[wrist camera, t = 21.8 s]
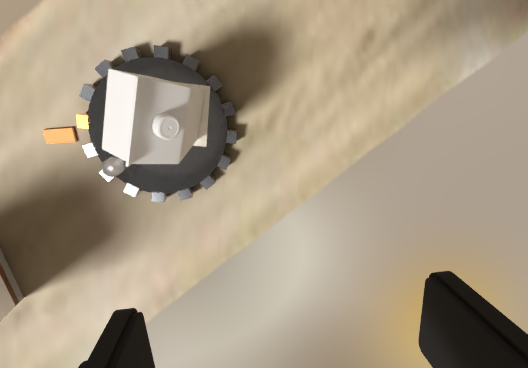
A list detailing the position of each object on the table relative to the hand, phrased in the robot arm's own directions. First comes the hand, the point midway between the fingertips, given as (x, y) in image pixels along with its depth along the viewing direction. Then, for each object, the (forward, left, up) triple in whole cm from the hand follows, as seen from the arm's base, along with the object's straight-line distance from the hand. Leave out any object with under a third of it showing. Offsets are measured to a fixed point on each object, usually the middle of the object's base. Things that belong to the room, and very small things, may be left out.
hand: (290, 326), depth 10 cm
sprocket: (+12, -3, -38) cm, 40 cm away
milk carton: (+9, -6, -36) cm, 37 cm away
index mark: (+26, -3, -38) cm, 47 cm away
